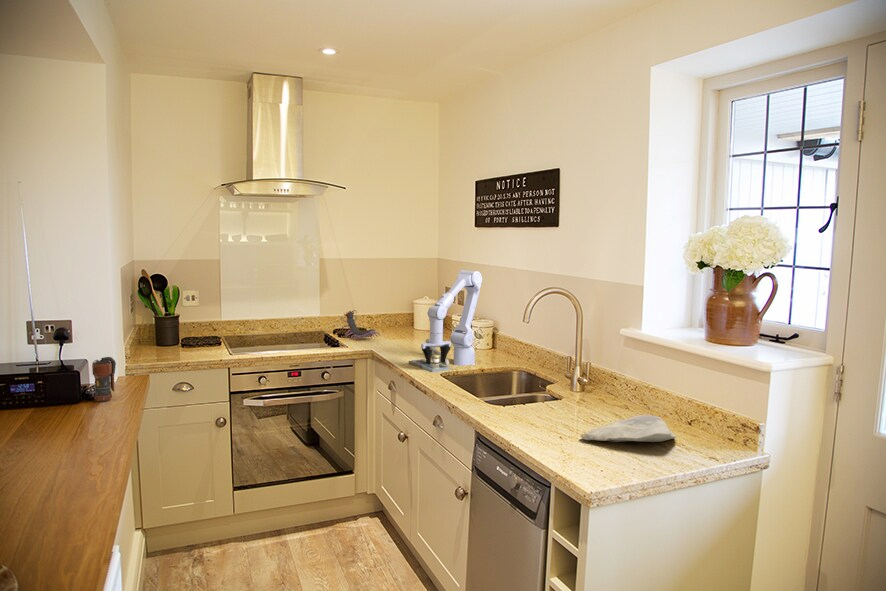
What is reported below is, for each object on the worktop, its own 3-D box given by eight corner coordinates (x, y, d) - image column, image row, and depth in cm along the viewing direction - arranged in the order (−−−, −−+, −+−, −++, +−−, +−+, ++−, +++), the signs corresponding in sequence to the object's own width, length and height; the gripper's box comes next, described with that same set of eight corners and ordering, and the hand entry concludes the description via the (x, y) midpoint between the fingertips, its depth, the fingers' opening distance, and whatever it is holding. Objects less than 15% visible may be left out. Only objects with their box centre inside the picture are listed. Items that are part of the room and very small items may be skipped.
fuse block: (423, 363, 283) (423, 358, 283) (435, 367, 275) (435, 363, 274) (408, 365, 279) (408, 360, 278) (420, 369, 270) (420, 365, 270)
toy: (354, 331, 357) (357, 307, 353) (379, 347, 339) (383, 322, 335) (336, 333, 348) (339, 308, 344) (361, 350, 330) (365, 324, 327)
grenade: (120, 398, 215) (119, 357, 214) (99, 403, 209) (97, 361, 207) (111, 396, 218) (109, 355, 217) (89, 401, 212) (87, 358, 210)
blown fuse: (436, 368, 271) (437, 354, 270) (440, 370, 269) (441, 355, 268) (430, 369, 269) (431, 355, 269) (434, 370, 267) (435, 356, 266)
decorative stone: (695, 423, 174) (595, 434, 170) (697, 447, 174) (597, 459, 170) (650, 408, 202) (563, 418, 198) (652, 429, 202) (565, 439, 198)
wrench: (445, 372, 278) (424, 352, 305) (449, 372, 279) (428, 352, 306) (446, 356, 276) (425, 337, 304) (450, 355, 277) (429, 337, 304)
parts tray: (438, 367, 275) (438, 363, 275) (449, 371, 268) (449, 367, 267) (421, 369, 270) (421, 365, 270) (432, 373, 263) (432, 369, 262)
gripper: (445, 330, 274) (444, 359, 276) (417, 332, 266) (417, 363, 268) (453, 332, 269) (453, 362, 270) (426, 335, 261) (425, 366, 262)
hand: (435, 363), depth 269 cm, fingers open, 7 cm apart
